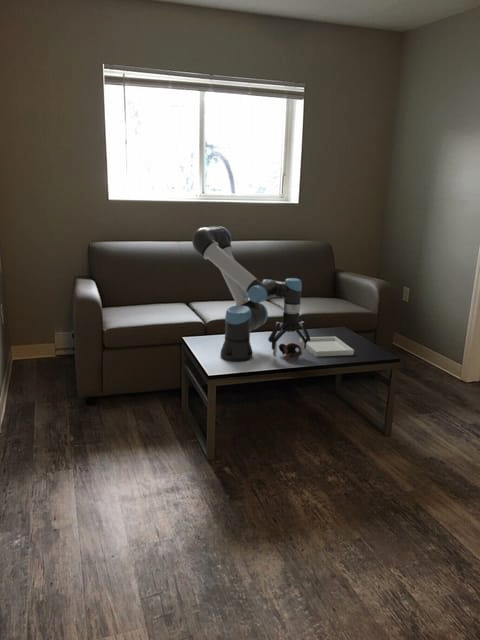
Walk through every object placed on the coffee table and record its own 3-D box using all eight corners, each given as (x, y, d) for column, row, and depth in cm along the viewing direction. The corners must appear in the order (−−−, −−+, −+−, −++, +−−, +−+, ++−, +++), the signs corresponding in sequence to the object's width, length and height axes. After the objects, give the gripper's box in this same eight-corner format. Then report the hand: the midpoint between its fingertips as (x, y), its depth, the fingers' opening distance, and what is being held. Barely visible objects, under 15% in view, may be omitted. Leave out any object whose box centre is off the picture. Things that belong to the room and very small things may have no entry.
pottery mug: (303, 357, 247) (305, 346, 241) (294, 370, 241) (296, 359, 235) (281, 346, 251) (283, 335, 245) (272, 359, 245) (273, 348, 239)
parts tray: (315, 356, 247) (315, 351, 246) (299, 342, 267) (299, 337, 266) (353, 354, 252) (354, 350, 251) (334, 340, 272) (335, 336, 271)
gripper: (268, 314, 230) (265, 359, 236) (319, 313, 237) (315, 356, 242) (263, 310, 237) (260, 353, 243) (313, 309, 244) (309, 351, 249)
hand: (288, 355), depth 243 cm, fingers open, 13 cm apart
